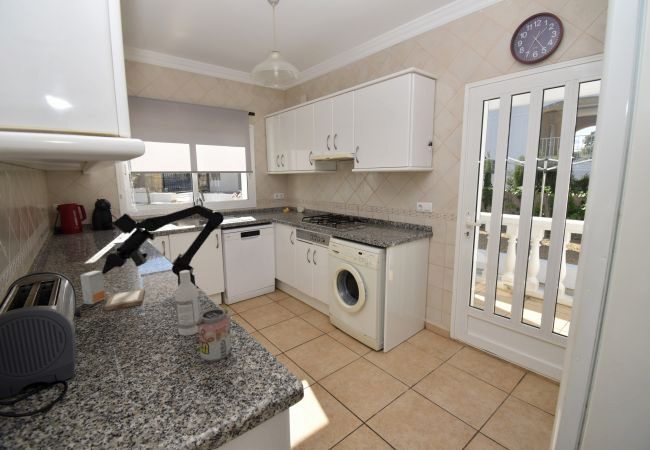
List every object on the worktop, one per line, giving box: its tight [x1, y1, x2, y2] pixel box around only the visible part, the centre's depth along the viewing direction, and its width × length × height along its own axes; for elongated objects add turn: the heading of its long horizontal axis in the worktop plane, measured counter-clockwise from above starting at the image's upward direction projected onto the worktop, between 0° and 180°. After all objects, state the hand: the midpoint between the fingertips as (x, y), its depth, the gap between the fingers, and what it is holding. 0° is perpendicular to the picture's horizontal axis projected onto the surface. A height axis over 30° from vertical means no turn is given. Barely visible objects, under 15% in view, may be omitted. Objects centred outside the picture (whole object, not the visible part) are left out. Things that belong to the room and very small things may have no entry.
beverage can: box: [195, 308, 232, 362], centre depth 84 cm, size 9×8×12 cm
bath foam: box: [174, 270, 202, 337], centre depth 96 cm, size 7×7×20 cm
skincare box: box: [79, 270, 106, 305], centre depth 121 cm, size 6×4×12 cm
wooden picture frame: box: [104, 288, 146, 311], centre depth 122 cm, size 12×14×2 cm
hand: (107, 270), depth 122 cm, fingers open, 9 cm apart
